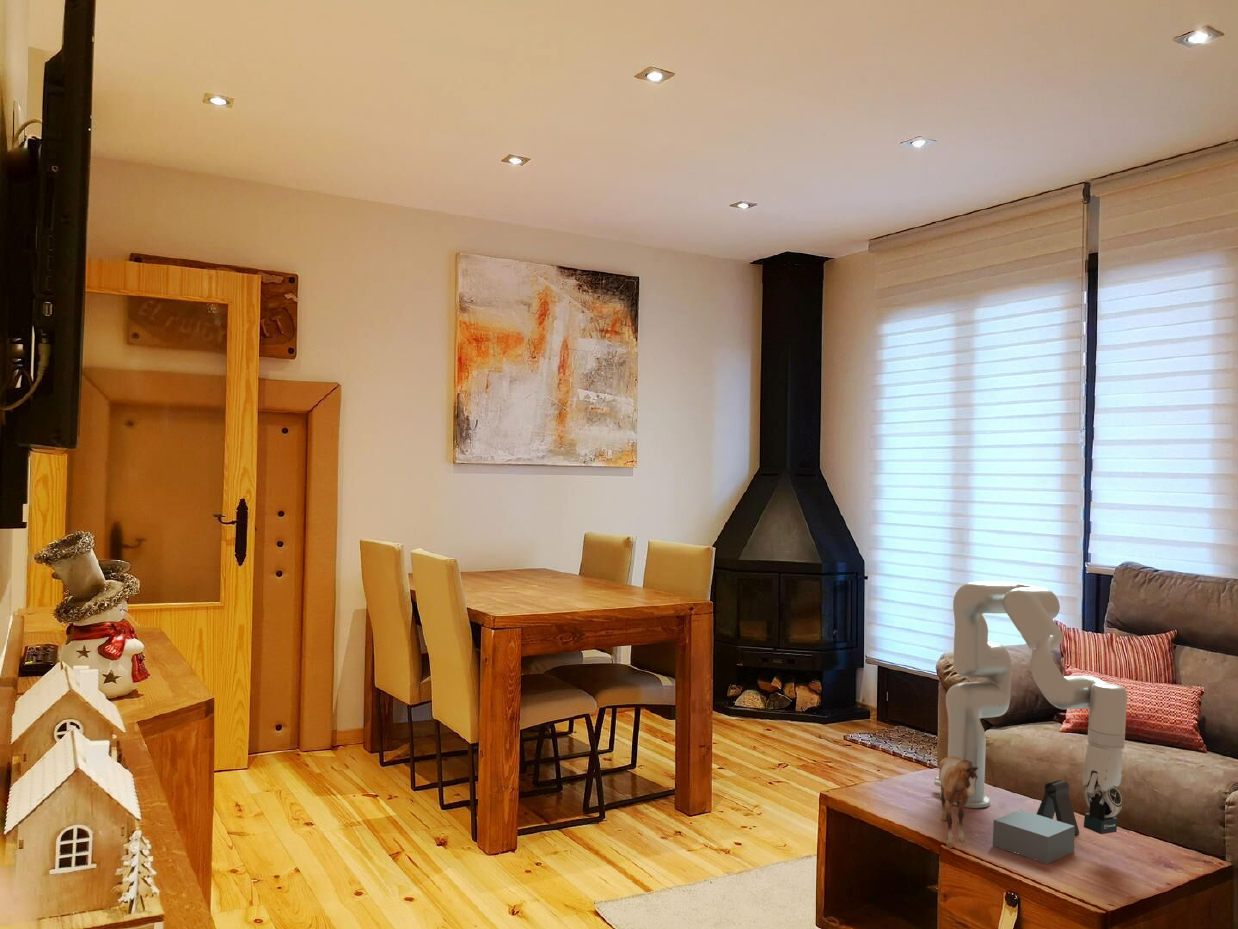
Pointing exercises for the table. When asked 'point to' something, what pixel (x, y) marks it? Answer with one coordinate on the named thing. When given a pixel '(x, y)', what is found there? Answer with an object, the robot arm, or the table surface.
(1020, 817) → the base block
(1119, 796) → the watch
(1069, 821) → the phone stand
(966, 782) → the horse figurine
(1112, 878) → the table surface
